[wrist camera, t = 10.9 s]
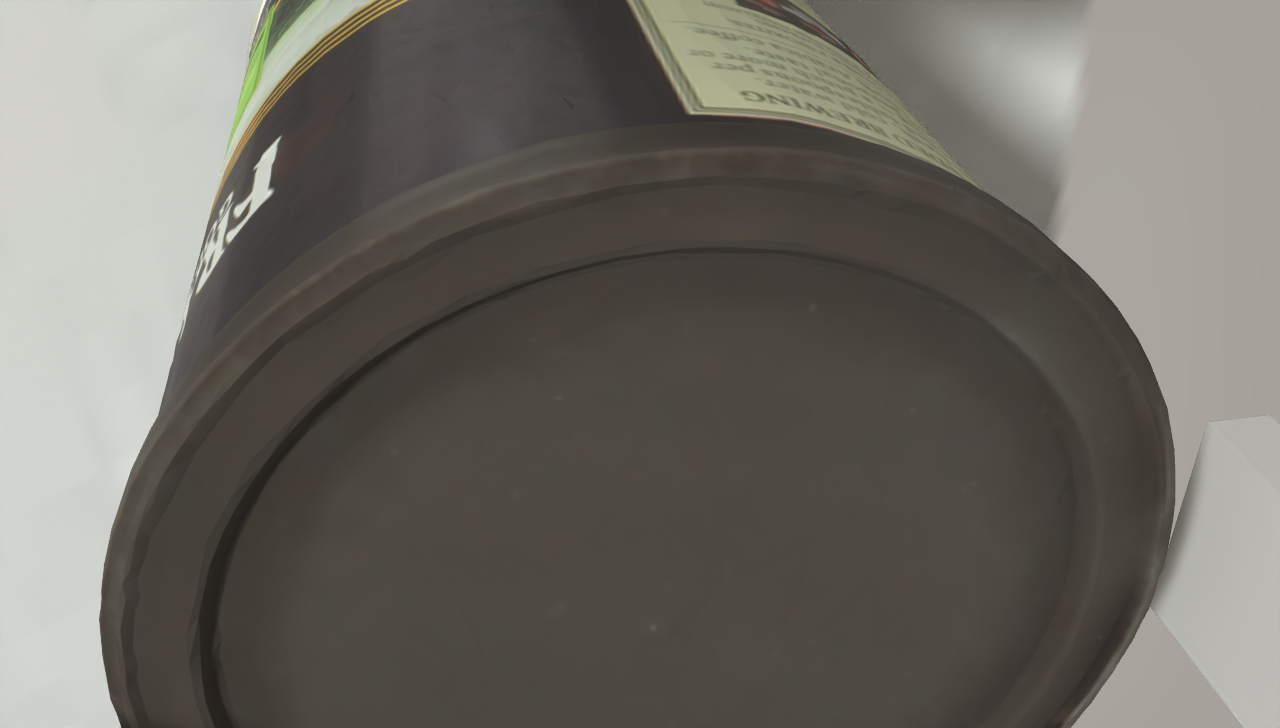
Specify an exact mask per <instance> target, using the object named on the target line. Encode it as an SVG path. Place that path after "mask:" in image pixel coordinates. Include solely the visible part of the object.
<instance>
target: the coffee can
mask: <svg viewBox="0 0 1280 728" xmlns="http://www.w3.org/2000/svg"><path fill="white" fill-rule="evenodd" d="M1174 457H1175V456H1174V445H1173V439H1172V434H1171V427H1170V422H1169V415H1168V409H1167V406H1166V403H1165V401H1164V398H1163V396H1162V393H1161V390H1160V388H1159V385H1158V382H1157V380H1156V377H1155V375H1154V372H1153V369H1152V367H1151V364H1150V362H1149V360H1148V358H1147V356H1146V354H1145V352H1144V350H1143V348H1142V346H1141V344H1140V342H1139V340H1138V338H1137V337H1136V335H1135V334H1134V332H1133V331H1132V329H1131V328H1130V327H1129V325H1128V323H1127V322H1126V320H1125V319H1124V317H1123V316H1122V314H1121V313H1120V311H1119V310H1118V308H1117V307H1116V306H1115V305H1114V303H1113V302H1112V301H1111V300H1110V298H1109V297H1108V296H1107V295H1106V294H1105V293H1104V291H1103V290H1102V289H1101V288H1100V287H1099V286H1098V284H1096V282H1095V281H1094V280H1093V279H1092V278H1091V277H1090V276H1089V275H1088V274H1087V273H1086V272H1085V271H1084V270H1083V269H1082V268H1081V267H1080V266H1079V265H1078V264H1077V263H1076V262H1074V261H1073V260H1072V259H1071V258H1070V257H1069V256H1068V255H1067V254H1066V253H1064V252H1063V251H1062V250H1061V249H1060V248H1059V247H1058V246H1057V245H1056V244H1054V243H1053V242H1052V241H1051V240H1050V239H1049V238H1048V237H1047V236H1045V235H1044V234H1043V233H1042V232H1041V231H1040V230H1039V229H1038V228H1037V227H1035V226H1034V225H1033V224H1032V223H1031V222H1029V221H1028V220H1026V219H1025V218H1023V217H1022V216H1021V215H1019V214H1018V213H1016V212H1015V211H1013V210H1012V209H1011V208H1009V207H1008V206H1006V205H1005V204H1003V203H1002V202H1001V201H999V200H997V199H996V198H994V197H992V196H991V195H989V194H987V193H986V192H984V191H983V190H982V189H981V188H980V186H979V185H978V184H977V183H976V182H975V181H974V180H973V179H972V178H971V177H970V176H969V175H968V174H967V173H966V172H965V170H964V169H963V168H962V167H961V166H960V165H959V164H958V163H957V162H956V161H955V160H954V159H953V158H952V157H951V156H950V154H949V153H948V152H947V151H946V150H945V149H944V148H943V147H942V146H941V145H940V144H939V143H938V142H937V141H936V139H935V138H934V137H933V136H932V135H931V134H930V133H929V132H928V131H927V130H926V129H925V128H924V127H923V126H922V124H921V123H920V122H919V121H918V120H917V119H916V118H915V117H914V116H913V115H912V114H911V113H910V111H909V110H908V109H907V108H906V107H905V106H904V104H903V103H902V102H901V100H900V99H899V98H898V97H897V95H896V94H894V93H893V92H892V91H891V90H890V89H889V88H888V87H887V86H885V85H884V84H883V83H882V82H881V81H880V80H879V79H878V78H877V77H876V75H875V74H874V73H873V72H872V71H871V69H870V68H869V67H868V66H867V65H866V63H865V62H864V61H863V60H862V59H861V58H860V57H859V56H858V55H857V54H855V53H854V52H853V51H852V50H851V49H850V48H849V47H848V46H847V45H846V44H845V43H844V42H843V41H842V40H841V39H840V38H839V37H838V36H837V35H836V34H835V33H834V32H833V30H832V29H831V28H830V27H829V26H828V25H827V24H826V23H825V22H824V21H823V20H822V19H821V18H820V17H819V16H818V15H817V13H816V12H815V11H814V10H813V9H812V8H811V7H810V6H809V5H808V4H807V3H806V2H805V1H804V0H259V3H258V7H257V10H256V13H255V16H254V19H253V24H252V30H251V36H250V41H249V47H248V53H247V66H246V75H245V79H244V83H243V87H242V91H241V94H240V98H239V103H238V108H237V112H236V117H235V121H234V124H233V128H232V131H231V135H230V139H229V142H228V146H227V151H226V155H225V160H224V164H223V167H222V171H221V174H220V179H219V183H218V187H217V191H216V195H215V199H214V203H213V207H212V211H211V214H210V218H209V221H208V225H207V229H206V233H205V237H204V241H203V244H202V248H201V252H200V256H199V260H198V263H197V267H196V270H195V274H194V277H193V281H192V285H191V290H190V292H189V296H188V300H187V304H186V308H185V313H184V317H183V323H182V328H181V331H180V334H179V337H178V340H177V343H176V348H175V353H174V359H173V362H172V365H171V368H170V372H169V376H168V380H167V384H166V388H165V392H164V395H163V399H162V403H161V407H160V411H159V415H158V417H157V419H156V421H155V422H154V424H153V426H152V427H151V429H150V431H149V433H148V436H147V438H146V440H145V442H144V444H143V446H142V448H141V450H140V452H139V455H138V457H137V459H136V461H135V463H134V465H133V467H132V469H131V472H130V475H129V478H128V481H127V484H126V487H125V490H124V493H123V496H122V499H121V502H120V505H119V508H118V511H117V514H116V517H115V521H114V524H113V527H112V530H111V535H110V540H109V544H108V549H107V554H106V558H105V563H104V571H103V580H102V590H101V594H102V600H101V611H100V617H99V622H100V633H101V644H102V654H103V661H104V666H105V672H106V677H107V683H108V688H109V694H110V699H111V702H112V704H113V706H114V708H115V711H116V713H117V716H118V719H119V722H120V725H121V728H1071V727H1072V725H1073V724H1074V723H1075V722H1076V721H1077V719H1078V718H1079V717H1080V715H1081V714H1082V713H1083V712H1084V711H1085V709H1086V708H1087V707H1088V706H1089V705H1090V704H1091V703H1092V701H1093V699H1094V698H1095V697H1096V695H1097V694H1098V692H1099V690H1100V689H1101V687H1102V686H1103V685H1104V684H1105V682H1106V681H1107V680H1108V678H1109V677H1110V675H1111V674H1112V673H1113V671H1114V669H1115V668H1116V666H1117V664H1118V663H1119V661H1120V659H1121V658H1122V656H1123V655H1124V653H1125V652H1126V650H1127V648H1128V647H1129V645H1130V644H1131V642H1132V640H1133V638H1134V637H1135V634H1136V632H1137V630H1138V628H1139V626H1140V624H1141V622H1142V620H1143V619H1144V617H1145V615H1146V613H1147V611H1148V610H1149V607H1150V605H1151V602H1152V599H1153V597H1154V594H1155V592H1156V587H1157V583H1158V579H1159V577H1160V575H1161V572H1162V570H1163V567H1164V563H1165V559H1166V555H1167V551H1168V545H1169V539H1170V534H1171V528H1172V523H1173V516H1174V506H1175V458H1174Z"/></svg>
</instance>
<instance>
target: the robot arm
mask: <svg viewBox="0 0 1280 728" xmlns="http://www.w3.org/2000/svg"><path fill="white" fill-rule="evenodd" d="M1150 607H1151V608H1152V609H1153V611H1154V612H1155V613H1156V614H1157V616H1158V617H1159V619H1160V620H1161V621H1162V622H1163V624H1164V625H1165V626H1166V628H1167V629H1168V630H1169V631H1170V633H1171V634H1172V635H1173V637H1174V638H1175V639H1176V641H1177V642H1178V643H1179V644H1180V646H1181V647H1182V648H1183V649H1184V651H1185V652H1186V653H1187V655H1188V656H1189V657H1190V659H1191V660H1192V661H1193V663H1194V664H1195V665H1196V666H1197V668H1198V669H1199V670H1200V672H1201V673H1202V674H1203V675H1204V677H1205V678H1206V679H1207V681H1208V682H1209V683H1210V685H1212V687H1213V688H1214V690H1215V691H1216V692H1217V693H1218V695H1219V696H1220V697H1221V699H1222V700H1223V701H1224V703H1225V704H1226V705H1227V706H1228V708H1229V709H1230V710H1231V712H1232V713H1233V714H1234V716H1235V717H1236V718H1237V719H1238V721H1239V722H1240V723H1241V725H1242V726H1243V727H1244V728H1280V423H1278V422H1277V421H1276V420H1275V419H1274V418H1273V417H1272V416H1271V415H1264V416H1256V417H1247V418H1239V419H1230V420H1222V421H1213V422H1208V423H1207V426H1206V429H1205V432H1204V436H1203V439H1202V442H1201V445H1200V448H1199V451H1198V455H1197V458H1196V461H1195V464H1194V468H1193V470H1192V474H1191V477H1190V480H1189V483H1188V487H1187V490H1186V493H1185V496H1184V499H1183V502H1182V506H1181V509H1180V512H1179V515H1178V519H1177V522H1176V525H1175V528H1174V531H1173V535H1172V538H1171V541H1170V544H1169V547H1168V551H1167V555H1166V559H1165V563H1164V567H1163V570H1162V572H1161V575H1160V577H1159V579H1158V583H1157V587H1156V592H1155V594H1154V597H1153V599H1152V602H1151V605H1150Z"/></svg>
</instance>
